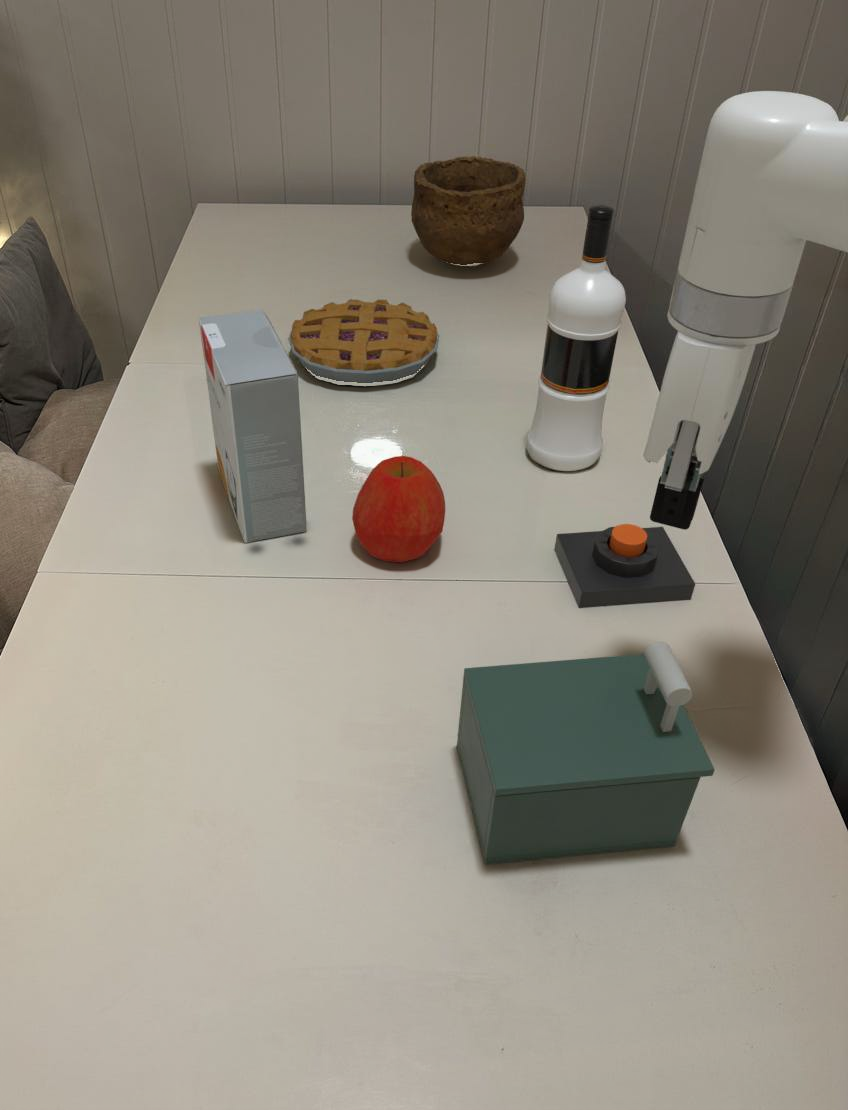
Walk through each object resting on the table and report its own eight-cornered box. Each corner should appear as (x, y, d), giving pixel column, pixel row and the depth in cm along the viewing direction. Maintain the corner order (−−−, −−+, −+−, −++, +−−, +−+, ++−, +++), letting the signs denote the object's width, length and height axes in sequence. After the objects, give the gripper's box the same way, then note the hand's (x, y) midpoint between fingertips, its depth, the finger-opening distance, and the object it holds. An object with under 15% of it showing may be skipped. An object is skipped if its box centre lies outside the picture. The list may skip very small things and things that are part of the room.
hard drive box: (216, 471, 117) (197, 315, 103) (277, 461, 118) (266, 306, 105) (243, 545, 106) (224, 381, 92) (309, 533, 107) (301, 370, 94)
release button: (637, 536, 101) (640, 522, 100) (648, 556, 98) (652, 543, 97) (604, 538, 101) (607, 524, 100) (615, 559, 98) (618, 545, 97)
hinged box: (626, 729, 86) (646, 660, 80) (674, 846, 77) (700, 777, 71) (456, 744, 85) (463, 675, 78) (485, 864, 75) (495, 796, 69)
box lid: (656, 659, 80) (671, 607, 76) (712, 776, 71) (733, 724, 67) (463, 674, 78) (468, 622, 74) (495, 796, 69) (502, 744, 65)
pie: (290, 325, 146) (288, 293, 143) (431, 322, 147) (433, 291, 144) (287, 395, 130) (285, 361, 127) (445, 392, 131) (447, 358, 128)
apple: (455, 565, 103) (462, 484, 96) (363, 578, 101) (362, 496, 94) (431, 511, 110) (435, 432, 103) (344, 523, 109) (342, 443, 102)
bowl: (393, 274, 161) (394, 180, 151) (432, 236, 173) (435, 147, 163) (499, 292, 155) (508, 196, 145) (531, 251, 168) (541, 161, 158)
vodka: (515, 464, 118) (546, 213, 97) (538, 428, 124) (571, 186, 103) (588, 481, 115) (635, 227, 94) (607, 444, 121) (656, 198, 100)
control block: (658, 542, 106) (666, 512, 103) (690, 600, 99) (699, 570, 96) (554, 549, 105) (558, 520, 102) (578, 608, 98) (584, 578, 95)
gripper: (695, 254, 71) (647, 464, 83) (646, 335, 61) (600, 559, 74) (800, 271, 69) (734, 485, 81) (767, 358, 59) (698, 586, 71)
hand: (670, 520), depth 77 cm, fingers closed
